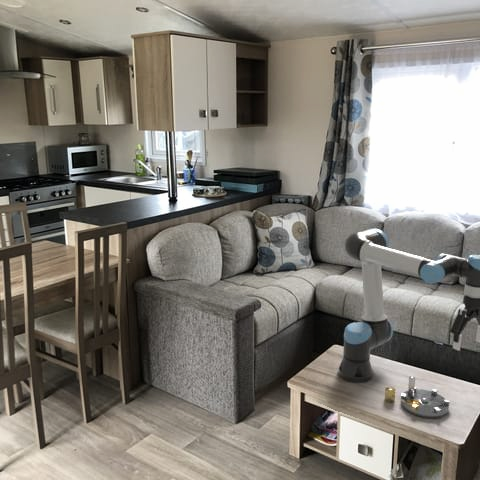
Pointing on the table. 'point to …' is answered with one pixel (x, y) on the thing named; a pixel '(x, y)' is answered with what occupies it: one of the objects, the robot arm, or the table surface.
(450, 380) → the table surface
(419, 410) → the dark grey round base
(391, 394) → the roller
